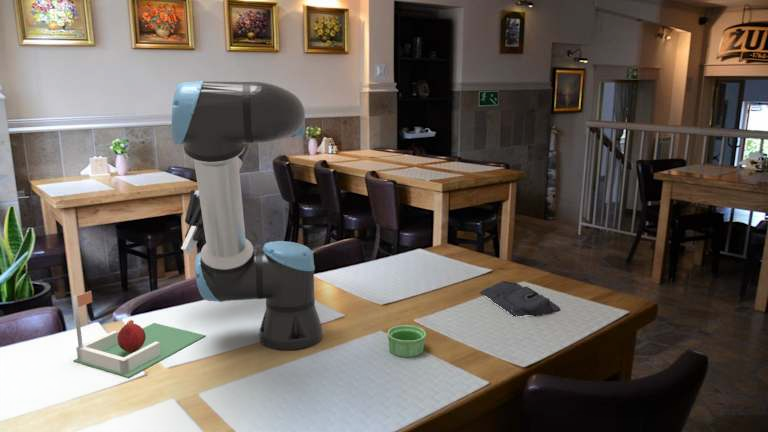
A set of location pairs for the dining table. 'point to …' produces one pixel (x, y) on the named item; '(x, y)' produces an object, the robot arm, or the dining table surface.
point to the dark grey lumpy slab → (519, 299)
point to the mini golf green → (109, 346)
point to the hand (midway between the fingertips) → (186, 251)
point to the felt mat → (166, 335)
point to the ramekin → (406, 340)
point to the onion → (131, 337)
